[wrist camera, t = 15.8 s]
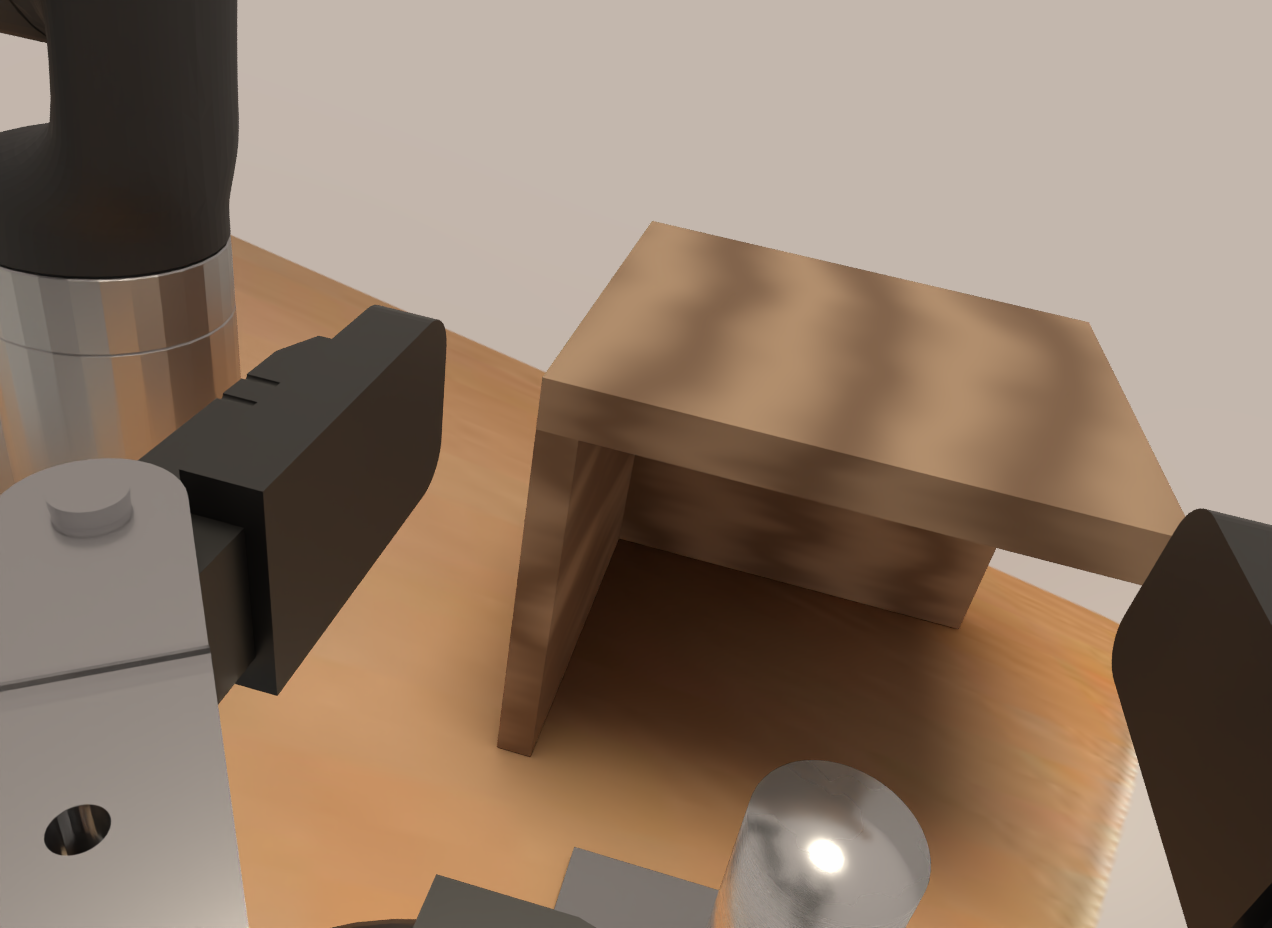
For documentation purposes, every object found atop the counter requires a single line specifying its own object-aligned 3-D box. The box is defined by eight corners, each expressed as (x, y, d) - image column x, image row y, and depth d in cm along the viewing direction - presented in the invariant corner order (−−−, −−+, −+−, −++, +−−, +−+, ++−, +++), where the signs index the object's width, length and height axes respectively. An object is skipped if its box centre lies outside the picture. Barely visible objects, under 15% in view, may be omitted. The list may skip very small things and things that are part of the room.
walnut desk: (496, 747, 41) (542, 377, 31) (600, 517, 56) (652, 220, 46) (987, 890, 39) (1198, 542, 29) (956, 612, 54) (1088, 322, 44)
